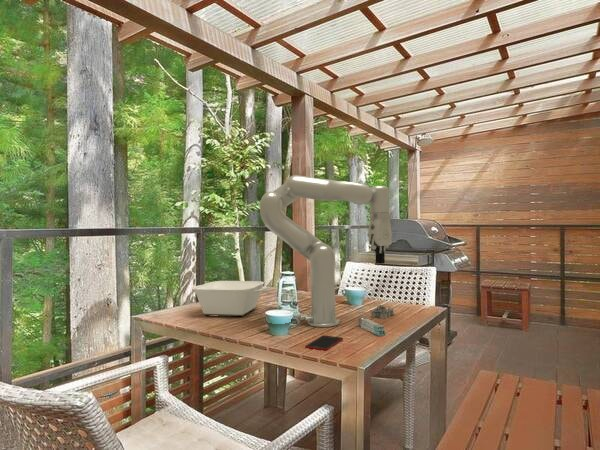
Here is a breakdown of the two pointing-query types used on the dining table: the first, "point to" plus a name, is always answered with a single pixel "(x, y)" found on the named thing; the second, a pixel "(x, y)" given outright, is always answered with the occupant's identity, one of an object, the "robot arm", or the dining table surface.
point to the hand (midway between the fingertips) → (380, 263)
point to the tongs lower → (378, 333)
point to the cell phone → (324, 343)
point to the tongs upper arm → (373, 325)
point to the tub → (229, 297)
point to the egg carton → (382, 312)
